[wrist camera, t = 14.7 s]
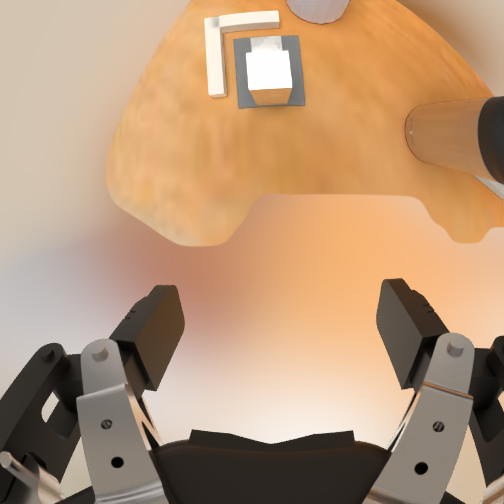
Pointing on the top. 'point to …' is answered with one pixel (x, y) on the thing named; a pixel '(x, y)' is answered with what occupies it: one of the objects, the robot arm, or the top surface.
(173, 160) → the top surface
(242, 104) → the pad
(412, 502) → the robot arm
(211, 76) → the corner piece
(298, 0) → the soap bottle
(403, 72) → the top surface
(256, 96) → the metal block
